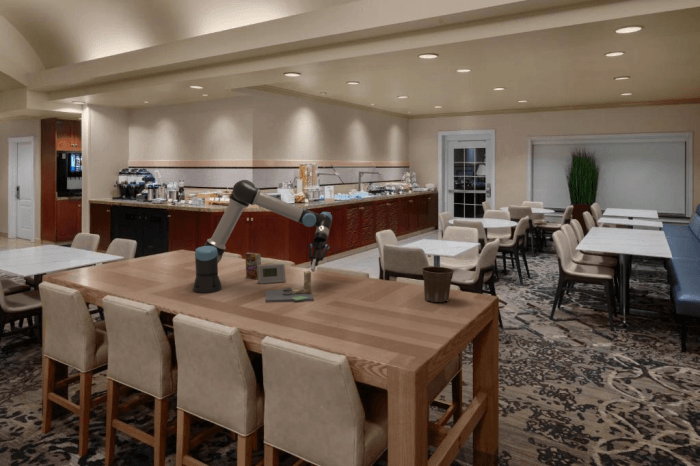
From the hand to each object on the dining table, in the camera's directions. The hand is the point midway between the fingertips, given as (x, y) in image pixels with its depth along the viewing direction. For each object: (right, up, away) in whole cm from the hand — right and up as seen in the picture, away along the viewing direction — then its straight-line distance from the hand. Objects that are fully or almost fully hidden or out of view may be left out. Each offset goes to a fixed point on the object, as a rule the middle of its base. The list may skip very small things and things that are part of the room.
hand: (312, 270), depth 269 cm
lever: (-8, -11, -8) cm, 16 cm away
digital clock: (-26, -9, +21) cm, 35 cm away
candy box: (-39, -7, +33) cm, 51 cm away
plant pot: (+65, -15, -15) cm, 68 cm away
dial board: (-11, -13, -11) cm, 20 cm away
